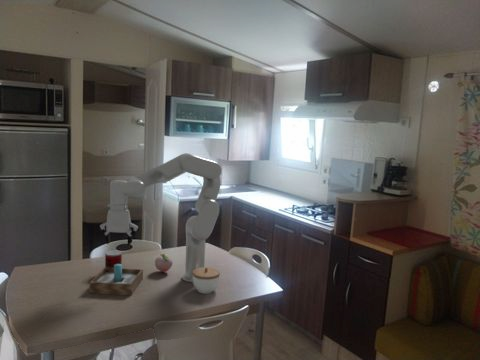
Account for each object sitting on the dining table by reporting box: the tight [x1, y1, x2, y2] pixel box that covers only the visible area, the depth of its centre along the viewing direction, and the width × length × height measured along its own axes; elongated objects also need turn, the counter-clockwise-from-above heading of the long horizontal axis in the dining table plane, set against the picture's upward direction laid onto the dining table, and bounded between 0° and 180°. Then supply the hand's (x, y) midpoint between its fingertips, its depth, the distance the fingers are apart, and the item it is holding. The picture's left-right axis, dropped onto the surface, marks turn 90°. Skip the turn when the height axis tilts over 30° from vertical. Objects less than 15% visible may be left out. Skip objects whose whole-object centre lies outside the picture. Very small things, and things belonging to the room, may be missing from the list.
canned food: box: [104, 249, 123, 268], centre depth 195 cm, size 8×8×11 cm
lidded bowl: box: [192, 266, 220, 295], centre depth 180 cm, size 13×13×11 cm
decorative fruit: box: [154, 253, 173, 273], centre depth 200 cm, size 9×8×10 cm
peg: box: [114, 264, 123, 282], centre depth 180 cm, size 4×4×10 cm
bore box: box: [89, 266, 144, 296], centre depth 181 cm, size 19×19×5 cm
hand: (118, 243), depth 179 cm, fingers open, 9 cm apart
